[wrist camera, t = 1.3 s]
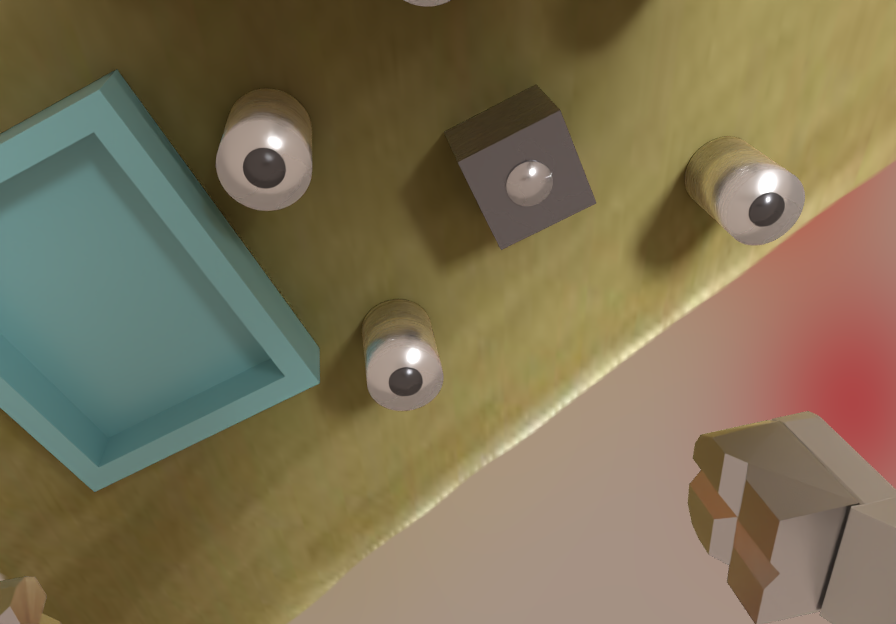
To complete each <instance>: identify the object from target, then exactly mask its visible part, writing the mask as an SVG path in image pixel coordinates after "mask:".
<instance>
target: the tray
mask: <svg viewBox="0 0 896 624" xmlns="http://www.w3.org/2000/svg"><path fill="white" fill-rule="evenodd" d="M319 383H320V350H319V347H318V346H317V344H316V343H315V341H314V340H313V339H312V337H311V336H310V334H309V333H308V332H307V330H306V329H305V328H304V326H303V325H302V323H301V322H300V321H299V319H298V318H297V317H296V315H295V314H294V312H293V311H292V310H291V308H290V307H289V306H288V304H287V303H286V301H285V300H284V299H283V297H282V296H281V295H280V293H279V292H278V290H277V289H276V288H275V286H274V285H273V284H272V282H271V281H270V279H269V278H268V277H267V275H266V274H265V273H264V271H263V270H262V268H261V267H260V266H259V264H258V263H257V262H256V260H255V259H254V257H253V256H252V255H251V253H250V252H249V250H248V249H247V248H246V246H245V245H244V244H243V242H242V241H241V239H240V238H239V237H238V235H237V234H236V233H235V231H234V230H233V228H232V227H231V226H230V224H229V223H228V222H227V220H226V219H225V217H224V216H223V215H222V213H221V212H220V211H219V209H218V208H217V206H216V205H215V204H214V202H213V201H212V200H211V198H210V197H209V195H208V194H207V193H206V191H205V190H204V189H203V187H202V186H201V184H200V183H199V182H198V180H197V179H196V178H195V176H194V175H193V173H192V172H191V171H190V169H189V168H188V166H187V165H186V164H185V162H184V161H183V160H182V158H181V157H180V155H179V154H178V153H177V151H176V150H175V149H174V147H173V146H172V144H171V143H170V142H169V140H168V139H167V138H166V136H165V135H164V133H163V132H162V131H161V129H160V128H159V127H158V125H157V124H156V122H155V121H154V120H153V118H152V117H151V116H150V114H149V113H148V111H147V110H146V109H145V107H144V106H143V105H142V103H141V102H140V100H139V99H138V98H137V96H136V95H135V94H134V92H133V91H132V89H131V88H130V87H129V85H128V84H127V82H126V81H125V80H124V78H123V77H122V76H121V74H120V73H119V71H118V70H117V69H116V70H114V71H113V72H111V73H109V74H107V75H105V76H104V77H102V78H100V79H98V80H96V81H95V82H93V83H91V84H89V85H87V86H86V87H84V88H82V89H80V90H78V91H77V92H75V93H73V94H71V95H69V96H68V97H66V98H64V99H62V100H60V101H59V102H57V103H55V104H53V105H51V106H50V107H48V108H46V109H44V110H42V111H41V112H39V113H37V114H35V115H33V116H32V117H30V118H28V119H26V120H24V121H23V122H21V123H19V124H17V125H15V126H14V127H12V128H10V129H8V130H6V131H5V132H3V133H1V134H0V408H1V409H2V410H3V411H5V412H6V413H7V414H8V415H9V416H10V417H11V418H12V419H14V420H15V421H16V422H17V423H18V424H19V425H20V426H21V427H22V428H24V429H25V430H26V431H27V432H28V433H29V434H30V435H31V436H32V437H34V438H35V439H36V440H37V441H38V442H39V443H40V444H41V445H42V446H44V447H45V448H46V449H47V450H48V451H49V452H50V453H51V454H53V455H54V456H55V457H56V458H57V459H58V460H59V461H60V462H61V463H63V464H64V465H65V466H66V467H67V468H68V469H69V470H70V471H71V472H73V473H74V474H75V475H76V476H77V477H78V478H79V479H80V480H82V481H83V482H84V483H85V484H86V485H87V486H88V487H89V488H90V489H92V490H93V491H94V492H96V491H98V490H100V489H102V488H104V487H106V486H108V485H110V484H112V483H115V482H117V481H119V480H121V479H123V478H125V477H127V476H129V475H131V474H133V473H135V472H137V471H139V470H141V469H143V468H146V467H148V466H150V465H152V464H154V463H156V462H158V461H160V460H162V459H164V458H166V457H168V456H170V455H172V454H174V453H177V452H179V451H181V450H183V449H185V448H187V447H189V446H191V445H193V444H195V443H197V442H199V441H201V440H203V439H205V438H208V437H210V436H212V435H214V434H216V433H218V432H220V431H222V430H224V429H226V428H228V427H230V426H232V425H234V424H236V423H239V422H241V421H243V420H245V419H247V418H249V417H251V416H253V415H255V414H257V413H259V412H261V411H263V410H265V409H267V408H270V407H272V406H274V405H276V404H278V403H280V402H282V401H284V400H286V399H288V398H290V397H292V396H294V395H296V394H298V393H301V392H303V391H305V390H307V389H309V388H311V387H313V386H315V385H317V384H319Z"/></svg>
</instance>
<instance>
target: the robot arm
mask: <svg viewBox="0 0 896 624" xmlns="http://www.w3.org/2000/svg"><path fill="white" fill-rule="evenodd" d="M693 459H694V461H695V462H696V463H697V465H698V466H699V468H700V469H701V470H700V472H699V473H698V474H697V476H696V477H695V478H694V479H693V480H692V481H691V483H690V484H689V495H688V506H689V512H690V516H691V521H692V525H693V527H694V529H695V531H696V534H697V536H698V538H699V540H700V542H701V543H702V545H703V546H704V548H705V549H706V551H707V553H708V554H709V555H711V556H712V557H714V558H717V559H718V560H720V561H722V562H723V563H725V564H727V565H729V570H728V577H727V583H728V585H729V586H730V588H731V589H732V590H733V592H734V593H735V595H736V596H737V598H738V599H739V601H740V602H741V604H742V605H743V607H744V608H745V610H746V611H747V613H748V614H749V616H750V617H751V619H752V620H753V622H754V623H755V624H766V623H770V622H775V621H779V620H784V619H788V618H793V617H798V616H802V615H807V614H811V613H816V612H820V611H821V612H820V616H821V617H823V618H824V619H826V620H827V621H829V622H830V623H832V624H896V489H895V488H894V487H892V485H890V484H889V483H888V482H887V481H886V480H885V479H884V478H883V477H882V476H881V475H880V474H879V473H878V472H877V471H876V470H875V469H874V468H872V467H871V465H869V463H868V462H867V461H865V460H864V459H863V458H862V457H861V456H860V455H859V454H858V453H857V452H856V451H855V450H854V449H853V448H852V447H851V446H850V445H849V444H848V443H847V442H846V441H845V440H843V438H841V437H840V436H839V435H838V434H837V433H836V432H835V431H834V430H833V429H832V428H831V427H830V426H829V425H828V424H827V423H826V422H825V421H824V420H823V419H822V418H821V417H819V416H818V415H816V414H814V413H811V412H809V411H807V412H802V413H797V414H793V415H788V416H784V417H779V418H775V419H772V420H766V421H761V422H757V423H752V424H748V425H743V426H739V427H734V428H730V429H725V430H720V431H716V432H711V433H707V434H702V435H700V437H699V438H698V440H697V441H696V443H695V447H694V455H693ZM46 598H47V596H46V594H45V592H44V591H43V589H42V587H41V586H40V584H39V582H38V581H37V579H36V577H26V576H25V577H19V578H14V579H9V580H3V581H0V624H61V622H60V621H58V620H56V619H54V618H52V617H49V616H47V615H45V614H43V613H42V612H43V608H44V605H45V601H46Z"/></svg>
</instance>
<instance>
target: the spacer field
mask: <svg viewBox="0 0 896 624" xmlns="http://www.w3.org/2000/svg"><path fill="white" fill-rule="evenodd" d="M404 1H406V2H408V3H411V4H414V5H418V6H437V5H441V4H444V3H446V2H448V1H450V0H404ZM216 170H217V174H218V178H219V180H220V182H221V184H222V186H223V188H224V189H225V190H226V192H227V193H228V194H229V195H230V196H231V197H232V198H233V199H235V200H236V201H237V202H239V203H241V204H242V205H244V206H247V207H249V208H252V209H256V210H263V211H273V210H279V209H282V208H285V207H287V206H290V205H291V204H293V203H295V202H296V201H297V200H298V199H299V198H300V197H301V196H302V195H303V194H304V193H305V191H306V190H307V188H308V186H309V183H310V181H311V176H312V125H311V120H310V118H309V115H308V113H307V111H306V110H305V108H304V107H303V106H302V104H301V103H300V102H299V101H298V100H297V99H295V98H294V97H293V96H291V95H289V94H287V93H286V92H283V91H280V90H276V89H269V88H266V89H257V90H254V91H251V92H249V93H246V94H245V95H243V96H242V97H241V98H240V99H238V100H237V102H236V103H235V104H234V105H233V107H232V109H231V111H230V113H229V116H228V120H227V123H226V126H225V129H224V133H223V136H222V139H221V142H220V145H219V149H218V152H217V157H216ZM685 187H686V190H687V192H688V194H689V195H690V197H691V198H692V199H693V200H694V201H695V202H696V203H698V204H699V205H700V206H701V207H702V208H703V209H704V210H705V211H706V212H707V213H708V214H709V215H710V216H711V217H712V218H714V219H715V220H716V221H717V222H718V223H719V224H720V225H721V226H722V227H723V228H724V229H725V230H726V231H727V232H728V233H729V234H731V235H732V236H733V237H734V238H735V239H736V240H737V241H739V242H741V243H743V244H747V245H762V244H766V243H769V242H772V241H774V240H776V239H778V238H779V237H781V236H782V235H784V234H785V233H786V232H787V231H788V230H789V229H790V228H791V227H792V226H793V225H794V224H795V222H796V221H797V220H798V218H799V216H800V214H801V212H802V209H803V206H804V201H805V193H804V188H803V185H802V183H801V182H800V180H799V179H798V178H797V177H796V176H795V175H793V174H792V173H790V172H789V171H787V170H786V169H784V168H783V167H782V166H780V165H779V164H777V163H776V162H774V161H773V160H771V159H770V158H768V157H767V156H766V155H764V154H763V153H761V152H760V151H758V150H757V149H755V148H754V147H753V146H751V145H750V144H748V143H747V142H745V141H744V140H742V139H740V138H737V137H733V136H724V137H719V138H716V139H713V140H711V141H709V142H708V143H706V144H705V145H703V146H702V147H701V148H700V149H698V151H697V152H696V153H695V154H694V155H693V157H692V158H691V160H690V161H689V163H688V166H687V169H686V172H685ZM362 338H363V348H364V358H365V368H366V377H367V387H368V391H369V393H370V395H371V397H372V398H373V399H374V400H375V401H376V402H377V403H378V404H380V405H381V406H383V407H385V408H388V409H391V410H397V411H408V410H413V409H417V408H420V407H422V406H424V405H426V404H427V403H429V402H430V401H432V400H433V399H434V398H435V397H436V396H437V394H438V393H439V391H440V389H441V387H442V384H443V371H442V367H441V363H440V358H439V354H438V350H437V346H436V342H435V338H434V334H433V330H432V326H431V322H430V318H429V316H428V314H427V313H426V311H425V310H424V309H423V308H422V307H421V306H420V305H418V304H416V303H414V302H412V301H409V300H404V299H393V300H388V301H385V302H382V303H380V304H378V305H376V306H375V307H374V308H372V309H371V310H370V311H369V313H368V314H367V315H366V317H365V319H364V321H363V325H362Z"/></svg>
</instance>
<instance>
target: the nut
mask: <svg viewBox="0 0 896 624" xmlns="http://www.w3.org/2000/svg"><path fill="white" fill-rule="evenodd" d="M444 134H445V136H446V138H447V140H448V142H449V145H450V147H451V149H452V151H453V153H454V155H455V158H456V160H457V162H458V164H459V166H460V168H461V170H462V172H463V174H464V176H465V178H466V180H467V182H468V184H469V186H470V188H471V190H472V192H473V195H474V197H475V199H476V201H477V203H478V205H479V207H480V209H481V211H482V213H483V215H484V217H485V219H486V221H487V223H488V225H489V227H490V229H491V231H492V233H493V235H494V237H495V239H496V241H497V243H498V245H499V247H500V249H501V250H502V249H504V248H506V247H508V246H510V245H512V244H514V243H516V242H518V241H520V240H522V239H524V238H526V237H529V236H531V235H533V234H535V233H537V232H539V231H541V230H543V229H545V228H547V227H549V226H551V225H553V224H555V223H557V222H559V221H561V220H563V219H565V218H567V217H569V216H571V215H573V214H575V213H577V212H579V211H581V210H583V209H585V208H588V207H590V206H592V205H594V204H596V201H595V198H594V196H593V193H592V190H591V188H590V185H589V183H588V180H587V178H586V175H585V173H584V170H583V167H582V165H581V162H580V160H579V157H578V155H577V152H576V149H575V147H574V144H573V142H572V139H571V137H570V134H569V131H568V129H567V126H566V124H565V121H564V119H563V116H562V113H561V111H560V109H559V108H558V107H557V106H556V105H555V104H554V103H553V102H552V101H551V100H550V99H549V98H548V97H547V96H546V94H545V93H544V92H543V91H542V90H541V89H540V88H539V87H538V86H537V85H534V86H532V87H530V88H528V89H526V90H524V91H522V92H520V93H518V94H516V95H515V96H513V97H511V98H509V99H507V100H505V101H503V102H501V103H499V104H497V105H495V106H493V107H491V108H489V109H487V110H485V111H483V112H481V113H480V114H478V115H476V116H474V117H472V118H470V119H468V120H466V121H464V122H462V123H460V124H458V125H456V126H454V127H452V128H450V129H448V130H447V131H445V132H444Z"/></svg>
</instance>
